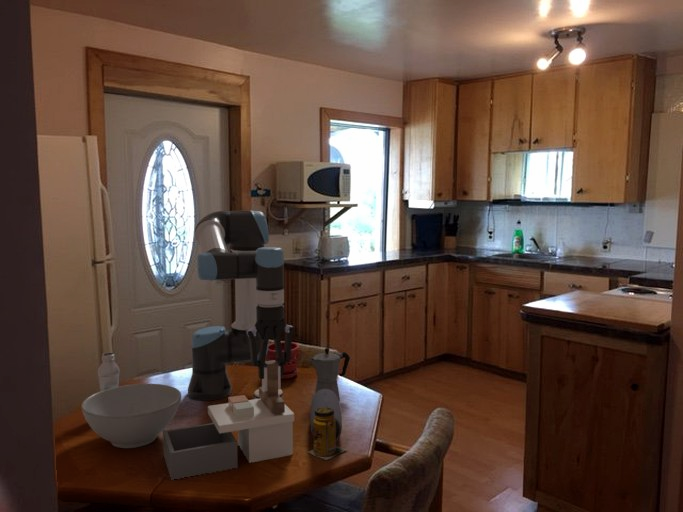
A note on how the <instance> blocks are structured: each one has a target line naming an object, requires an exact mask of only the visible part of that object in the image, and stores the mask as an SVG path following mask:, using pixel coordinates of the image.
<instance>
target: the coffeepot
mask: <svg viewBox="0 0 683 512" xmlns="http://www.w3.org/2000/svg"><path fill="white" fill-rule="evenodd" d="M324 351H325V352H324V353H323V352H321V353H318V354H315V355H313V357H311V358H310V359H308V361H309V362H310V363H311V364H312V366H313V367H314V369H315V371H316V379H317V380H316V385H315V391H314V394H315V393H316V392H317V391H319V390H321V389H329V390H332V391H333V392H334V393H335V394H336V396H337V397H338V400H339V401H340V400H341V398H340V391H339V385H338V380H337V378H338V376H340V377H342V376H346V373H347V369H348V365H349V362H350V358H351V357H350V355H349V354H348V353H347V352H346V351H345V352H338V353H332V352H330V348H329V347H326V348H324ZM341 359H344V361H343V366H342V372H340V373H339V370H340V369H339V368H340V362H341Z"/></svg>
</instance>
